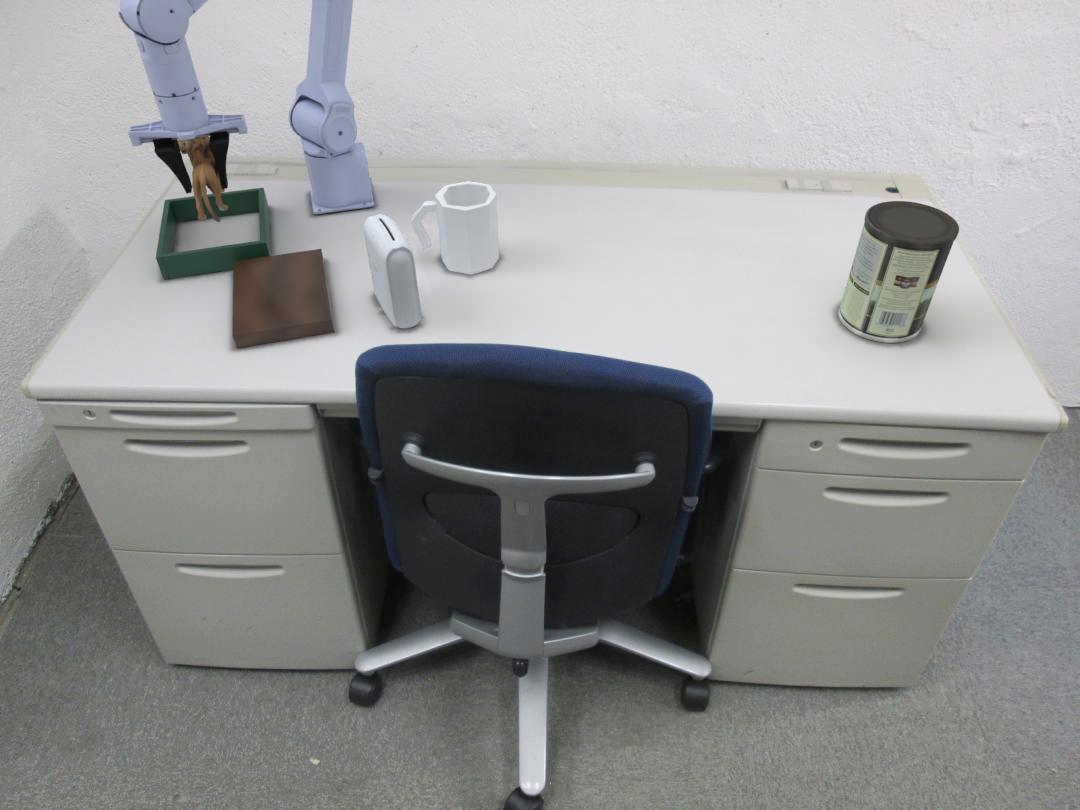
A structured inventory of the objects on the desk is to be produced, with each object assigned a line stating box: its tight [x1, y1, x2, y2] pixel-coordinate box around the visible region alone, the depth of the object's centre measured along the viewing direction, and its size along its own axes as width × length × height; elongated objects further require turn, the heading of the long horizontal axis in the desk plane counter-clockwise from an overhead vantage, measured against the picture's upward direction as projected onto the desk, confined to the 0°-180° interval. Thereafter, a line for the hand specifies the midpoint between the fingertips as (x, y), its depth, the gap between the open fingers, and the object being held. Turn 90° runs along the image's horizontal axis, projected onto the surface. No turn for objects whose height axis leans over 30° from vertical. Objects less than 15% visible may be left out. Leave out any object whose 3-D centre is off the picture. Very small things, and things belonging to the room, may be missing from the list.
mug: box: [410, 180, 500, 276], centre depth 110 cm, size 12×9×10 cm
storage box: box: [155, 187, 272, 280], centre depth 116 cm, size 15×18×4 cm
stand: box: [231, 248, 335, 349], centre depth 104 cm, size 12×18×2 cm, turn 16°
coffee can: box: [837, 200, 960, 344], centre depth 96 cm, size 10×10×14 cm
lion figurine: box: [177, 136, 228, 223], centre depth 109 cm, size 15×5×9 cm, turn 27°
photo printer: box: [363, 213, 423, 329], centre depth 100 cm, size 10×4×12 cm, turn 26°
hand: (207, 187), depth 110 cm, fingers closed on lion figurine, 4 cm apart
